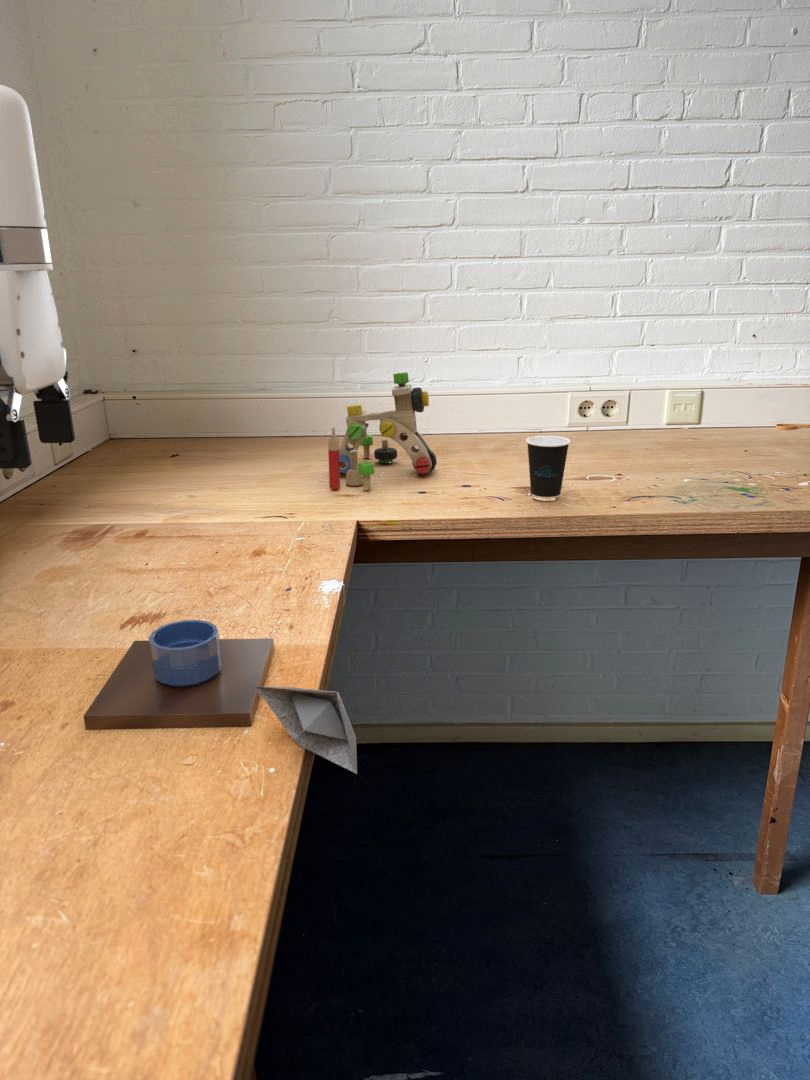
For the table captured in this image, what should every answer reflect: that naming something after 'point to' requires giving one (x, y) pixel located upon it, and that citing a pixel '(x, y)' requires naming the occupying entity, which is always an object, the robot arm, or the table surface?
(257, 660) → the board
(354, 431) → the toy construction set
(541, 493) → the dixie cup
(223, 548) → the table surface
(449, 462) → the table surface
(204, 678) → the bowl
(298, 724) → the paper boat
